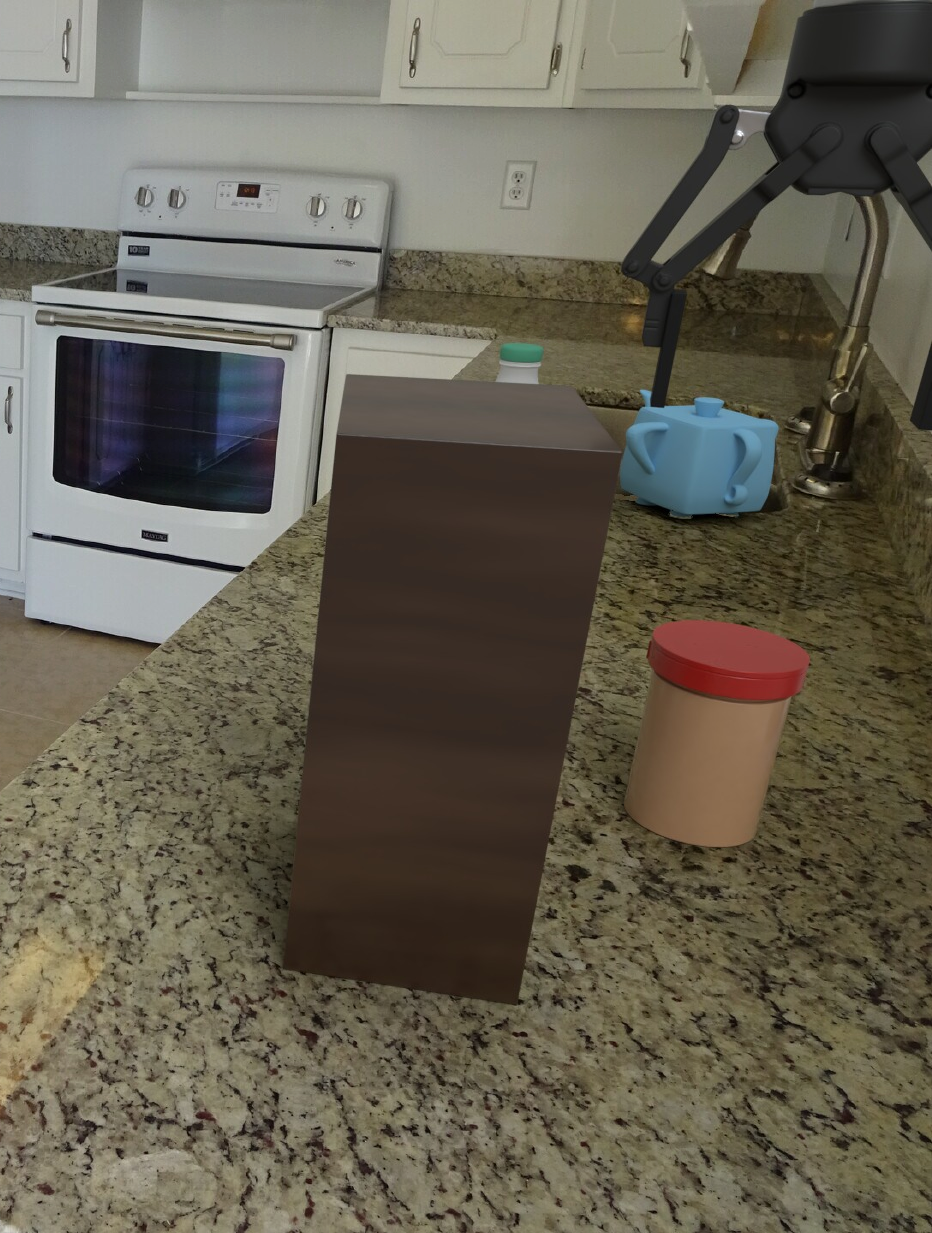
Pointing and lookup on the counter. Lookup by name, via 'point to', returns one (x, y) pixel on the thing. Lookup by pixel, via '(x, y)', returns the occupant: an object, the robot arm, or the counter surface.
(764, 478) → the teapot
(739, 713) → the jam jar
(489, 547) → the stand
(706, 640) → the lid
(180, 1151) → the counter surface
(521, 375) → the milk bottle
